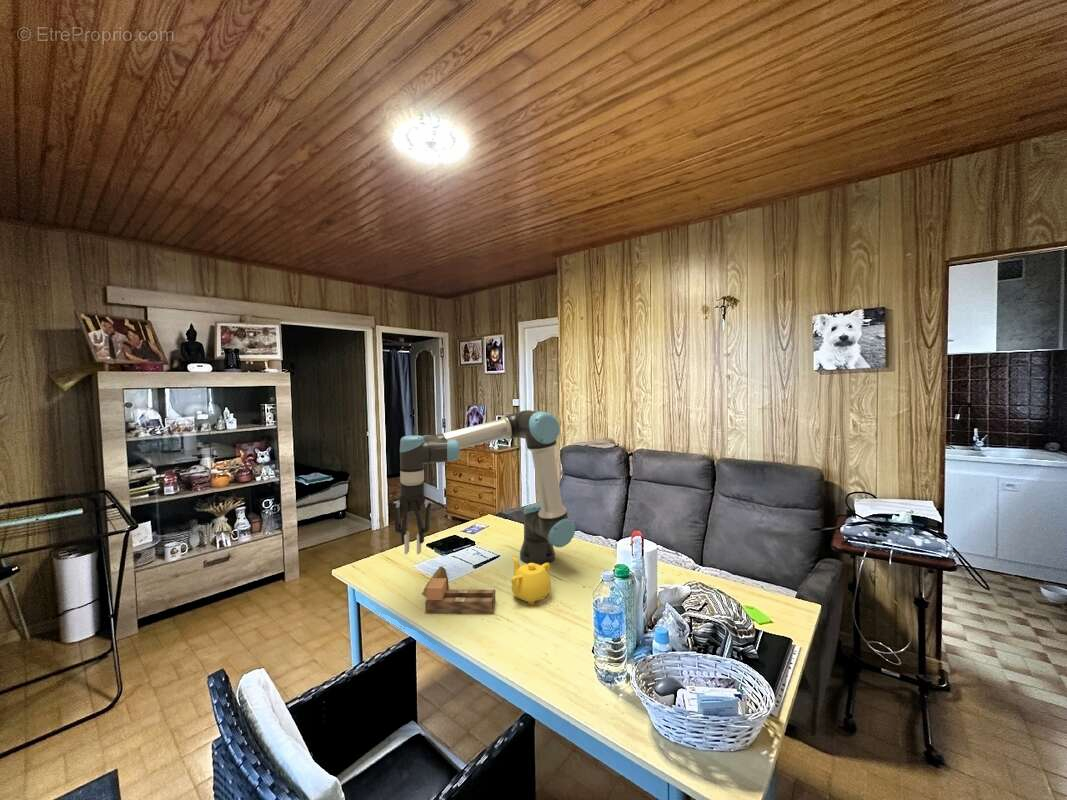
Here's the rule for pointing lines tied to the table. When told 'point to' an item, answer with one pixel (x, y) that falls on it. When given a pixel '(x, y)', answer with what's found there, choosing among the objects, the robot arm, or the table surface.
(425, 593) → the rock
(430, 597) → the orange brown block
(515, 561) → the teapot
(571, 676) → the table surface
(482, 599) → the beam
